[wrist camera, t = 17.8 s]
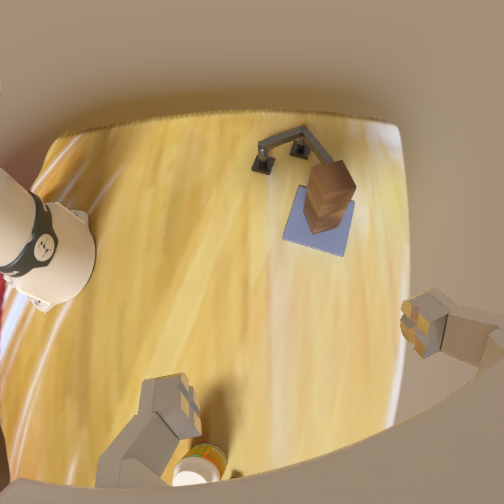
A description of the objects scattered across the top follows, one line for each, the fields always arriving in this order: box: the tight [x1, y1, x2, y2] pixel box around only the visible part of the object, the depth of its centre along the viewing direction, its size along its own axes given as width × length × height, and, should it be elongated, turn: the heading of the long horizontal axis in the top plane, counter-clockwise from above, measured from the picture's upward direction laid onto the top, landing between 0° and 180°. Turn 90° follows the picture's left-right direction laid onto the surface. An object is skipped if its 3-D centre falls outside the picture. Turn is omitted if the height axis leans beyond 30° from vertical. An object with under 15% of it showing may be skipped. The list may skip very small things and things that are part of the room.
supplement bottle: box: [173, 444, 227, 487], centre depth 28 cm, size 5×5×10 cm
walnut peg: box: [303, 160, 356, 235], centre depth 38 cm, size 4×4×11 cm
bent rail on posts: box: [251, 125, 334, 175], centre depth 45 cm, size 13×8×6 cm, turn 71°
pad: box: [283, 186, 355, 257], centre depth 43 cm, size 9×9×1 cm
